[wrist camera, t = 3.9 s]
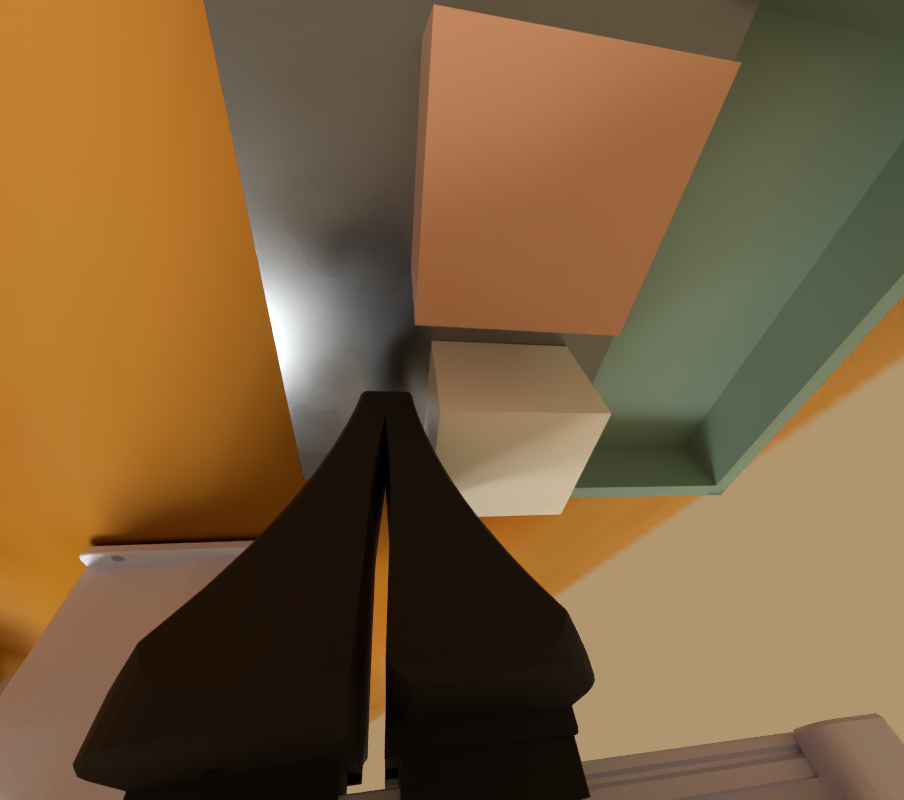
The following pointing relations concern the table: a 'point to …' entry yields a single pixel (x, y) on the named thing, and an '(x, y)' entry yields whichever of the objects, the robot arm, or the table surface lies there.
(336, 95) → the plate
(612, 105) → the terracotta block
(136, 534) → the table surface
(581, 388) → the tile cream
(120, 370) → the table surface
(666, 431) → the box
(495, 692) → the robot arm
